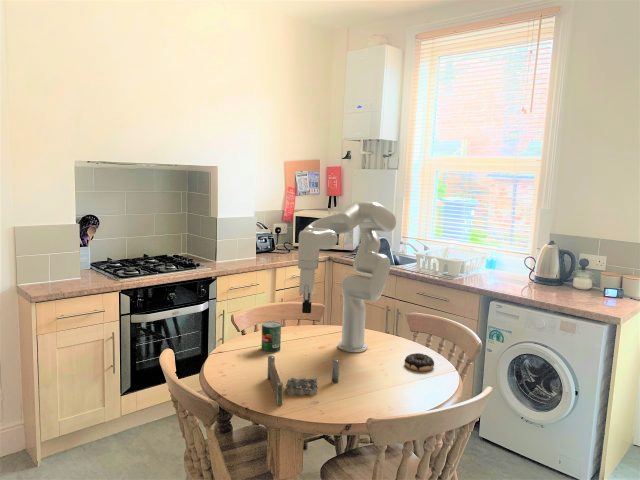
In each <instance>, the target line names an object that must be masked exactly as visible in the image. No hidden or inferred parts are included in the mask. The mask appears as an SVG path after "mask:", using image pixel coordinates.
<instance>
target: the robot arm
mask: <svg viewBox="0 0 640 480" xmlns="http://www.w3.org/2000/svg"><path fill="white" fill-rule="evenodd" d="M396 225H397V218H396V215H395V214H394V213H393V211H391V210H389V209H388V208H386V207H385V206H383V205H382V204H380V203H378V202H375V201H364V200H363V201H362V200H357V201H353V202H351V203H350V204H349V205H348V206H346V207H345V208H344V209H342V210H341V211H339V212H338V213H336V214H335V213H334V214H332V215H329V216H326V217H321V218H319V219H315V220H314V221H313V222H311V223H309V224H308V225H306V227H305V228H304V229H303V230H301V231H299V234H298V250H297V251H298V253H297V254H298V257H297V258H298V259H297V269H298V270H300V271H299V286H298V287H299V289H298V290H299V291H298V296H300V297H301V296H302V304H301V305H302V308H301V310H302V311H301V313H302V314H311V313H312V296H313V294H314V289H315V277H316V270H319V260H320V259H319V258H320V257H319V256H320V250H331V249H333V248H334V247H335V246H337V244H338V235H340V234H341V235H342V234H346V233H350V232H351V231H352V230H353V229H355V228H356V227H357V226H359V227H358V228H359V230H360V231H359V232H360V235H361V237H360V238H361V241H360V243H359V246H358V249H357V251H356V254H355V257H354V260H353V264H352V268H353V270H354V271H355V272H356V273H359V274H355V273H354V274H353V273H352V274H350V273H349V274H347V275H345V276H344V277H343V279H342V282H341V292H342V293H341V294H342V301H343V302H342V321H341V322H342V324H341V327H342V328H341V340H340V341H339V342H338V343H337V348H338V349H339V350H341V351H343V352H348V353H362V352H366V350H367V349H368V344H367V343H366V342H365V331H366V330H365V328H366V303H365V301H369V302H375V301H378V300H379V299H380V298H381V296H382V294H383V292H384V288H385V286H386V283H387V280H388V276H389V274H390V271H391V260H390V258H389V256H387V255H386V254H383V253H379V251H380V249H381V239H380V237H379V235H378V233H377V232H381V233H382V232H383V233H389V232H392V231H393V230H394V229H395V228H396ZM361 274H363V275H361ZM365 275H366V276H365ZM364 300H365V301H364Z"/></svg>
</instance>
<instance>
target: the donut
mask: <svg viewBox="0 0 640 480" xmlns="http://www.w3.org/2000/svg"><path fill="white" fill-rule="evenodd" d="M404 365H405V366H406V367H407V368H408V369H409V370H411V369H412V371H415V370H416V372H429V371H431V370H433V368H434V367H435V361H434V360H433V358H432V357H431V356H429V355H427V354H424V353H420V352H419V353H411V354H409V355H407V356H406V357H405V359H404ZM428 370H429V371H428Z"/></svg>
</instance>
